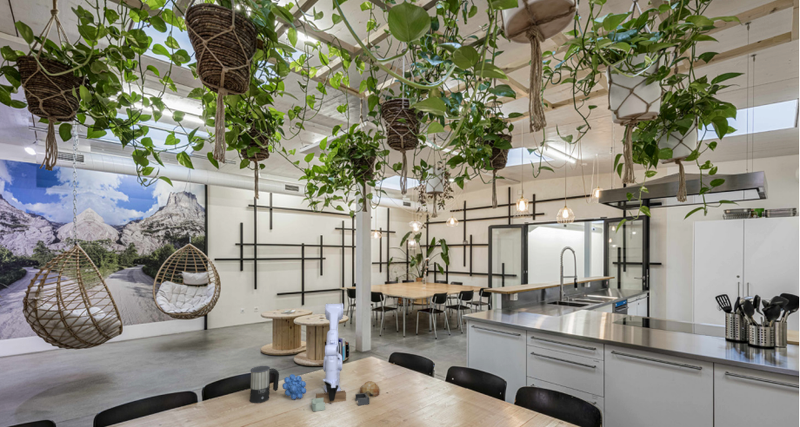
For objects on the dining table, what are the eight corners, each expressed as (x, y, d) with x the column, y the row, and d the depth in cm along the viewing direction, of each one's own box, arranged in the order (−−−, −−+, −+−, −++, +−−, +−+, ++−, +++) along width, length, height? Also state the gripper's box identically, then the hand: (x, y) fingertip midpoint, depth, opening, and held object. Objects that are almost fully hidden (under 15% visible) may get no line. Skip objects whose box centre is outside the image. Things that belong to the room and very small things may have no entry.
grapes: (279, 403, 178) (280, 377, 179) (283, 397, 184) (283, 372, 186) (304, 402, 179) (305, 376, 180) (307, 397, 185) (307, 372, 187)
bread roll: (360, 405, 185) (362, 392, 182) (357, 389, 194) (359, 377, 192) (380, 403, 188) (381, 390, 185) (376, 387, 197) (377, 375, 194)
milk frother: (256, 405, 176) (257, 372, 177) (237, 397, 184) (238, 366, 186) (281, 395, 188) (282, 365, 189) (261, 388, 196) (262, 359, 198)
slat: (315, 402, 180) (315, 393, 180) (344, 398, 184) (344, 390, 185) (316, 405, 176) (316, 396, 177) (345, 401, 181) (345, 392, 181)
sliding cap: (311, 405, 175) (311, 398, 175) (323, 404, 177) (323, 397, 177) (312, 411, 169) (313, 404, 169) (325, 409, 170) (325, 402, 171)
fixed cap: (355, 400, 182) (355, 394, 182) (366, 399, 183) (366, 392, 184) (358, 405, 175) (358, 399, 176) (369, 404, 177) (369, 397, 177)
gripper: (321, 365, 187) (320, 393, 186) (325, 374, 174) (324, 405, 172) (335, 364, 190) (334, 392, 188) (340, 373, 176) (339, 403, 175)
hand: (330, 398), depth 181 cm, fingers open, 6 cm apart
